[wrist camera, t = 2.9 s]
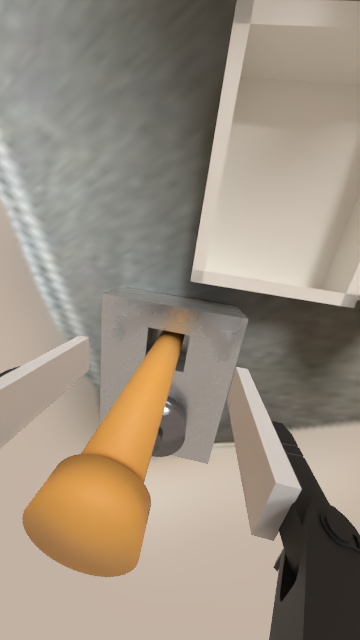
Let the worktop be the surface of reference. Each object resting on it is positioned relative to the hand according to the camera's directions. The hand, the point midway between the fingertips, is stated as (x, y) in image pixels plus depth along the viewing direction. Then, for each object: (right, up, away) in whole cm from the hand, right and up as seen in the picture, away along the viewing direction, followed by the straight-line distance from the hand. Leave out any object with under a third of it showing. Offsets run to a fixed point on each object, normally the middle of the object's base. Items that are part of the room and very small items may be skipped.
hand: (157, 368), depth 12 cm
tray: (+10, +14, +3) cm, 18 cm away
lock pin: (+1, +2, +7) cm, 7 cm away
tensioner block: (0, -2, +9) cm, 9 cm away
